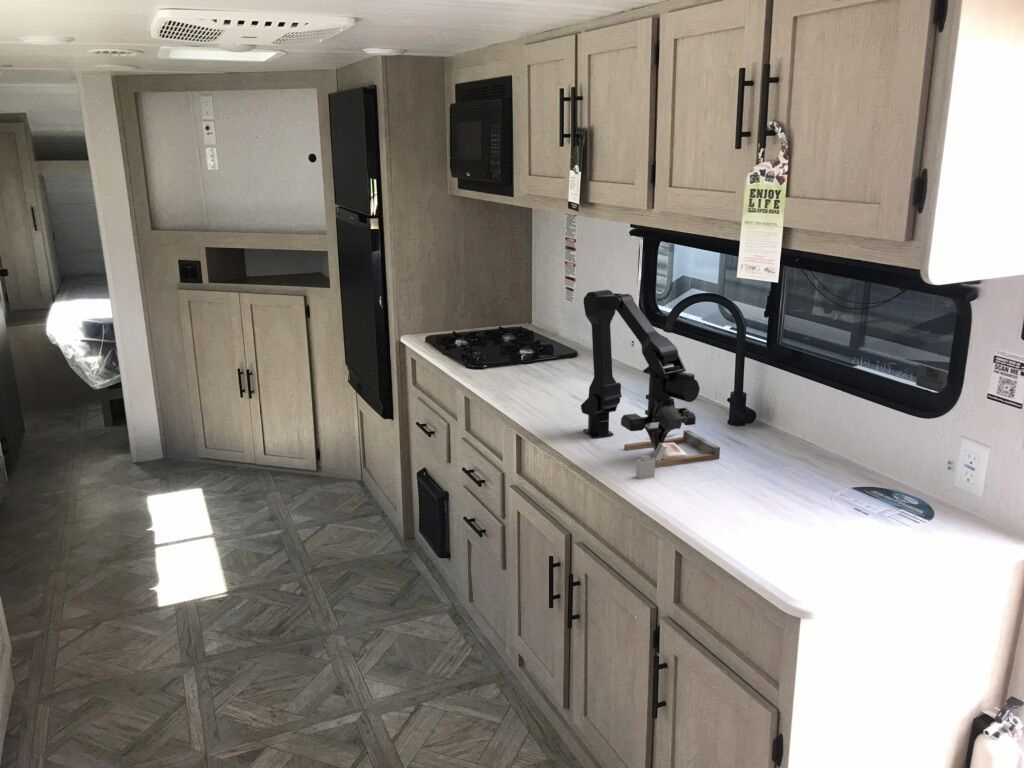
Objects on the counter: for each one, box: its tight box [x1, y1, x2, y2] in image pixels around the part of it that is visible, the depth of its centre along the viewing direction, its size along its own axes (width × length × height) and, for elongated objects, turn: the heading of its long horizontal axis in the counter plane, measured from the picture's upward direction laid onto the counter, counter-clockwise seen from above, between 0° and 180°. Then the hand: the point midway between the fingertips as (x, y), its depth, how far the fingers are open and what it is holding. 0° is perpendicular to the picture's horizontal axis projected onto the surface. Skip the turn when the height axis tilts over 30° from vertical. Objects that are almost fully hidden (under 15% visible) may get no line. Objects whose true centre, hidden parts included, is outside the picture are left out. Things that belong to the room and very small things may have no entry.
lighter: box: [635, 443, 667, 479], centre depth 206 cm, size 7×2×8 cm, turn 107°
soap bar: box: [661, 442, 688, 460], centre depth 221 cm, size 5×9×2 cm, turn 10°
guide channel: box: [623, 429, 721, 469], centre depth 222 cm, size 15×19×3 cm
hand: (656, 451), depth 221 cm, fingers closed
